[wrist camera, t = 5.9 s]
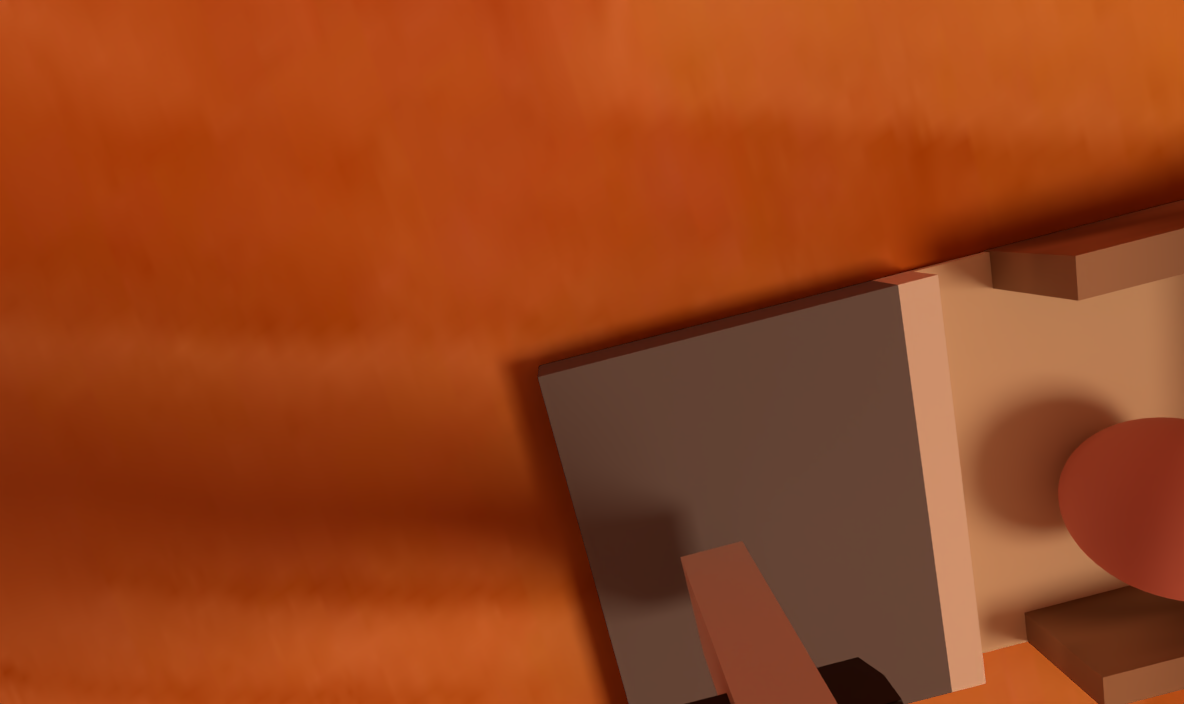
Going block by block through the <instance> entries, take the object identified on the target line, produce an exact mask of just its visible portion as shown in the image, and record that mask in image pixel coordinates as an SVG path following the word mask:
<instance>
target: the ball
mask: <svg viewBox="0 0 1184 704" xmlns="http://www.w3.org/2000/svg"><path fill="white" fill-rule="evenodd" d="M1058 501H1059V507H1060V512H1061V515H1062V518H1063V521H1064V523H1065V525H1066V527H1067V529H1068V531H1069V533H1070V535H1071V536H1072V538H1073V539H1074V540H1075V542H1076V543H1077V545H1078V546H1079V547H1080V548H1081V550H1082V551H1083V552H1084V553H1085V554H1086V555H1087V556H1088V557H1089V558H1090V559H1091V560H1092V561H1094V562H1095V563H1096V564H1097V565H1098V566H1100V567H1101V568H1102V569H1104V570H1105V571H1106V572H1108V573H1109V574H1111V575H1112V576H1114V577H1116V578H1117V579H1119V580H1121V581H1123V582H1124V583H1126V584H1128V585H1130V586H1133V587H1135V588H1137V589H1140V590H1142V591H1145V592H1148V593H1151V594H1154V595H1157V596H1161V597H1165V598H1168V599H1174V600H1179V601H1184V419H1181V418H1166V417H1156V418H1142V419H1136V420H1129V421H1126V422H1122V423H1118V424H1115V425H1112V426H1110V427H1107V428H1105V429H1103V430H1101V431H1099V432H1097V433H1096V434H1094V435H1092V436H1090V437H1089V438H1088V439H1086V440H1085V441H1084V442H1083V443H1081V444H1080V445H1079V446H1078V447H1077V448H1076V449H1075V450H1074V451H1073V453H1072V454H1071V455H1070V457H1069V458H1068V460H1067V461H1066V463H1065V465H1064V468H1063V470H1062V472H1061V475H1060V480H1059V485H1058Z"/></svg>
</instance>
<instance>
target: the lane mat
mask: <svg viewBox="0 0 1184 704" xmlns="http://www.w3.org/2000/svg"><path fill="white" fill-rule="evenodd" d="M538 380H539V384H540V387H541V391H542V395H543V398H544V402H545V405H546V409H547V413H548V416H549V420H550V423H551V427H552V430H553V434H554V438H555V441H556V445H557V448H558V452H559V456H560V459H561V463H562V466H563V470H564V474H565V477H566V481H567V484H568V488H569V491H570V495H571V499H572V502H573V506H574V509H575V513H576V517H577V520H578V524H579V527H580V531H581V535H582V538H583V542H584V545H585V549H586V552H587V556H588V560H589V563H590V567H591V570H592V574H593V578H594V581H595V585H596V588H597V592H598V596H599V599H600V603H601V606H602V610H603V613H604V617H605V621H606V624H607V628H608V631H609V635H610V639H611V642H612V646H613V649H614V653H615V657H616V660H617V664H618V667H619V671H620V674H621V678H622V682H623V685H624V689H625V692H626V696H627V700H628V703H629V704H686V703H690V702H694V701H697V700H701V699H705V698H709V697H713V696H717V692H716V689H715V686H714V683H713V680H712V677H711V674H710V671H709V668H708V665H707V662H706V659H705V657H704V653H703V649H702V645H701V641H700V637H699V633H698V628H697V624H696V620H695V616H694V612H693V608H692V603H691V599H690V595H689V591H688V587H687V583H686V578H685V574H684V570H683V566H682V562H681V557H683V556H686V555H690V554H694V553H698V552H702V551H706V550H710V549H714V548H718V547H721V546H725V545H729V544H733V543H737V542H741V541H742V542H743V543H744V545H745V547H746V549H747V550H748V552H749V554H750V555H751V557H752V559H753V560H754V562H755V564H756V566H757V567H758V569H759V571H760V572H761V574H762V576H763V578H764V579H765V581H766V583H767V584H768V586H769V588H770V589H771V591H772V593H773V595H774V596H775V598H776V600H777V601H778V603H779V605H780V606H781V608H782V610H783V612H784V613H785V615H786V617H787V618H788V620H789V622H790V624H791V625H792V627H793V629H794V630H795V632H796V634H797V635H798V637H799V639H800V641H801V642H802V644H803V646H804V647H805V649H806V651H807V652H808V654H809V656H810V658H811V659H812V661H813V663H814V664H815V666H816V668H817V667H821V666H825V665H829V664H833V663H837V662H841V661H844V660H848V659H852V658H856V657H859V658H860V659H862V660H863V661H865V662H866V663H868V664H869V665H870V666H872V667H873V668H875V669H876V670H878V671H879V672H881V673H882V674H883V675H884V676H885V677H886V678H887V680H888V681H889V682H890V684H891V685H892V687H893V688H894V689H895V691H896V692H897V693H898V695H899V696H900V698H901V699H902V701H903V703H904V704H908V703H912V702H916V701H920V700H924V699H928V698H931V697H935V696H939V695H943V694H947V693H951V692H955V691H958V690H962V689H966V688H970V687H974V686H978V685H982V684H985V683H986V680H985V672H984V663H983V655H982V653H985V652H989V651H993V650H997V649H1001V648H1004V647H1008V646H1012V645H1016V644H1020V643H1024V642H1028V641H1027V634H1026V624H1025V614H1024V613H1025V612H1029V611H1033V610H1037V609H1040V608H1044V607H1048V606H1052V605H1056V604H1060V603H1064V602H1068V601H1071V600H1075V599H1079V598H1083V597H1087V596H1091V595H1095V594H1098V593H1102V592H1106V591H1110V590H1114V589H1118V588H1122V587H1125V586H1129V585H1128V584H1126V583H1124V582H1123V581H1121V580H1119V579H1117V578H1116V577H1114V576H1112V575H1111V574H1109V573H1108V572H1106V571H1105V570H1104V569H1102V568H1101V567H1100V566H1098V565H1097V564H1096V563H1095V562H1094V561H1092V560H1091V559H1090V558H1089V557H1088V556H1087V555H1086V554H1085V553H1084V552H1083V551H1082V550H1081V548H1080V547H1079V546H1078V545H1077V543H1076V542H1075V540H1074V539H1073V538H1072V536H1071V535H1070V533H1069V531H1068V529H1067V527H1066V525H1065V523H1064V521H1063V518H1062V515H1061V512H1060V507H1059V501H1058V485H1059V480H1060V475H1061V472H1062V470H1063V468H1064V465H1065V463H1066V461H1067V460H1068V458H1069V457H1070V455H1071V454H1072V453H1073V451H1074V450H1075V449H1076V448H1077V447H1078V446H1079V445H1080V444H1081V443H1083V442H1084V441H1085V440H1086V439H1088V438H1089V437H1090V436H1092V435H1094V434H1096V433H1097V432H1099V431H1101V430H1103V429H1105V428H1107V427H1110V426H1112V425H1115V424H1118V423H1122V422H1126V421H1129V420H1136V419H1142V418H1156V417H1166V418H1181V419H1184V274H1181V275H1177V276H1173V277H1169V278H1165V279H1161V280H1157V281H1153V282H1150V283H1146V284H1142V285H1138V286H1134V287H1130V288H1126V289H1122V290H1118V291H1115V292H1111V293H1107V294H1103V295H1099V296H1095V297H1091V298H1087V299H1083V300H1079V301H1076V300H1070V299H1063V298H1056V297H1049V296H1042V295H1035V294H1028V293H1021V292H1014V291H1007V290H1000V289H993V284H992V274H991V263H990V253H989V252H981V253H978V254H974V255H970V256H966V257H962V258H958V259H954V260H950V261H946V262H942V263H938V264H935V265H931V266H927V267H923V268H919V269H915V270H911V271H907V272H903V273H899V274H895V275H892V276H888V277H884V278H880V279H876V280H872V281H868V282H864V283H860V284H856V285H853V286H849V287H845V288H841V289H837V290H833V291H829V292H825V293H821V294H817V295H813V296H810V297H806V298H802V299H798V300H794V301H790V302H786V303H782V304H778V305H774V306H770V307H767V308H763V309H759V310H755V311H751V312H747V313H743V314H739V315H735V316H731V317H727V318H724V319H720V320H716V321H712V322H708V323H704V324H700V325H696V326H692V327H688V328H684V329H681V330H677V331H673V332H669V333H665V334H661V335H657V336H653V337H649V338H645V339H642V340H638V341H634V342H630V343H626V344H622V345H618V346H614V347H610V348H606V349H602V350H599V351H595V352H591V353H587V354H583V355H579V356H575V357H571V358H567V359H563V360H559V361H556V362H552V363H548V364H544V365H540V366H539V371H538Z"/></svg>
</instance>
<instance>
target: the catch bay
mask: <svg viewBox="0 0 1184 704" xmlns="http://www.w3.org/2000/svg"><path fill="white" fill-rule="evenodd" d="M984 252H989V253H990V263H991V274H992V284H993V289H1000V290H1007V291H1014V292H1021V293H1028V294H1035V295H1042V296H1049V297H1056V298H1063V299H1070V300H1076V301H1079V300H1083V299H1087V298H1091V297H1095V296H1099V295H1103V294H1107V293H1111V292H1115V291H1118V290H1122V289H1126V288H1130V287H1134V286H1138V285H1142V284H1146V283H1150V282H1153V281H1157V280H1161V279H1165V278H1169V277H1173V276H1177V275H1181V274H1184V200H1180V201H1176V202H1172V203H1168V204H1164V205H1160V206H1157V207H1153V208H1149V209H1145V210H1141V211H1137V212H1133V213H1129V214H1125V215H1121V216H1117V217H1114V218H1110V219H1106V220H1102V221H1098V222H1094V223H1090V224H1086V225H1082V226H1078V227H1075V228H1071V229H1067V230H1063V231H1059V232H1055V233H1051V234H1047V235H1043V236H1039V237H1035V238H1032V239H1028V240H1024V241H1020V242H1016V243H1012V244H1008V245H1004V246H1000V247H996V248H992V249H989V250H985V251H984ZM1024 614H1025V624H1026V634H1027V641H1028V642H1029V643H1030V644H1031V645H1033V646H1034V647H1035V648H1036V649H1037V650H1038V651H1039V652H1040V653H1042V654H1043V655H1044V656H1045V657H1046V658H1047V659H1048V660H1050V661H1051V662H1052V663H1053V664H1054V665H1055V666H1056V667H1057V668H1059V669H1060V670H1061V671H1062V672H1063V673H1064V674H1065V675H1067V676H1068V677H1069V678H1070V679H1071V680H1072V681H1073V682H1074V683H1076V684H1077V685H1078V686H1079V687H1080V688H1081V689H1082V690H1084V691H1085V692H1086V693H1087V694H1088V695H1089V696H1090V697H1091V698H1093V699H1094V700H1095V701H1096V702H1097V703H1098V704H1128V703H1132V702H1136V701H1139V700H1143V699H1147V698H1151V697H1155V696H1159V695H1163V694H1166V693H1170V692H1174V691H1178V690H1182V689H1184V601H1179V600H1174V599H1168V598H1165V597H1161V596H1157V595H1154V594H1151V593H1148V592H1145V591H1142V590H1140V589H1137V588H1135V587H1133V586H1130V585H1129V586H1125V587H1122V588H1118V589H1114V590H1110V591H1106V592H1102V593H1098V594H1095V595H1091V596H1087V597H1083V598H1079V599H1075V600H1071V601H1068V602H1064V603H1060V604H1056V605H1052V606H1048V607H1044V608H1040V609H1037V610H1033V611H1029V612H1025V613H1024Z"/></svg>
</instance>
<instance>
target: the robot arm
mask: <svg viewBox="0 0 1184 704" xmlns="http://www.w3.org/2000/svg"><path fill="white" fill-rule="evenodd" d="M681 562H682V566H683V570H684V574H685V578H686V583H687V587H688V591H689V595H690V599H691V603H692V608H693V612H694V616H695V620H696V624H697V628H698V633H699V637H700V641H701V645H702V649H703V653H704V657H705V659H706V662H707V665H708V668H709V671H710V674H711V677H712V680H713V683H714V686H715V689H716V692H717V696H713V697H709V698H705V699H701V700H697V701H694V702H690V703H686V704H904V703H903V701H902V699H901V698H900V696H899V695H898V693H897V692H896V691H895V689H894V688H893V687H892V685H891V684H890V682H889V681H888V680H887V678H886V677H885V676H884V675H883V674H882V673H881V672H879V671H878V670H876V669H875V668H873V667H872V666H870V665H869V664H868V663H866V662H865V661H863V660H862V659H860V658H859V657H856V658H852V659H848V660H844V661H841V662H837V663H833V664H829V665H825V666H821V667H817V668H816V666H815V664H814V663H813V661H812V659H811V658H810V656H809V654H808V652H807V651H806V649H805V647H804V646H803V644H802V642H801V641H800V639H799V637H798V635H797V634H796V632H795V630H794V629H793V627H792V625H791V624H790V622H789V620H788V618H787V617H786V615H785V613H784V612H783V610H782V608H781V606H780V605H779V603H778V601H777V600H776V598H775V596H774V595H773V593H772V591H771V589H770V588H769V586H768V584H767V583H766V581H765V579H764V578H763V576H762V574H761V572H760V571H759V569H758V567H757V566H756V564H755V562H754V560H753V559H752V557H751V555H750V554H749V552H748V550H747V549H746V547H745V545H744V543H743V542H742V541H741V542H737V543H733V544H729V545H725V546H721V547H718V548H714V549H710V550H706V551H702V552H698V553H694V554H690V555H686V556H683V557H681Z"/></svg>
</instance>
